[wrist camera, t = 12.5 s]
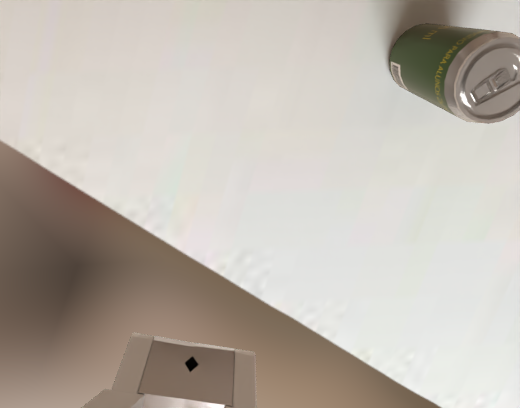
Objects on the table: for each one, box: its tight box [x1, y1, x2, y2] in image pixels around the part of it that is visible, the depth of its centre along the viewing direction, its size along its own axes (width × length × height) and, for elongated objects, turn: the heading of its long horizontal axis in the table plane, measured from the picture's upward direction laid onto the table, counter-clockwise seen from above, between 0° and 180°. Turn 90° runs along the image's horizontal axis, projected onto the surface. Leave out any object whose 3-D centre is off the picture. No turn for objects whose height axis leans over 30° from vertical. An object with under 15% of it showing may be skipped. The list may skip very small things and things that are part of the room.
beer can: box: [389, 23, 520, 124], centre depth 29 cm, size 5×5×12 cm
